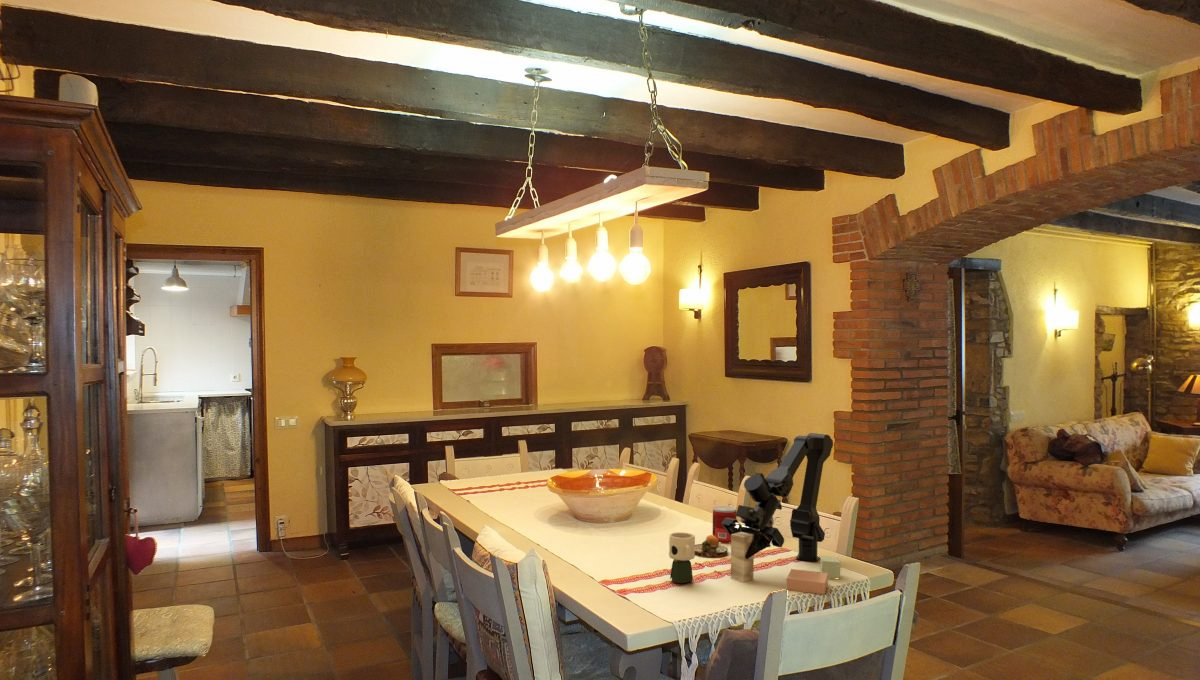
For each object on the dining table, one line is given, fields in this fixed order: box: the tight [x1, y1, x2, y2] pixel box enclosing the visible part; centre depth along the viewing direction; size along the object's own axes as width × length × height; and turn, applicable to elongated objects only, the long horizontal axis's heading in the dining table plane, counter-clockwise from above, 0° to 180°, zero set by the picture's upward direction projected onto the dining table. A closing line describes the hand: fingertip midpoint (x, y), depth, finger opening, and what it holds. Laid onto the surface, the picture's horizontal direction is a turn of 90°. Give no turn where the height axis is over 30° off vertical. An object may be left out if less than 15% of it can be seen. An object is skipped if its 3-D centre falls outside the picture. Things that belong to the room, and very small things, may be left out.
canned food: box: [712, 505, 737, 544], centre depth 260 cm, size 8×8×11 cm
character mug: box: [668, 531, 696, 584], centre depth 212 cm, size 11×7×13 cm, turn 14°
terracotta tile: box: [785, 568, 829, 595], centre depth 209 cm, size 10×10×3 cm
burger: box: [695, 534, 729, 559], centre depth 243 cm, size 12×12×8 cm
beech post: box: [730, 532, 755, 583], centre depth 215 cm, size 4×4×12 cm
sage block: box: [820, 556, 841, 579], centre depth 219 cm, size 5×5×5 cm
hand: (739, 556), depth 215 cm, fingers closed on beech post, 4 cm apart
